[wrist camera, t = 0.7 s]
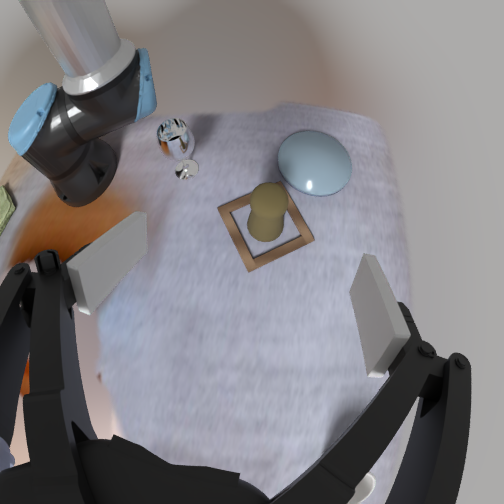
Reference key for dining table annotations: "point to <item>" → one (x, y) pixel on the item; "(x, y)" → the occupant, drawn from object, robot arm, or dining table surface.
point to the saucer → (314, 163)
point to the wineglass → (178, 146)
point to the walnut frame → (274, 254)
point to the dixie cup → (363, 489)
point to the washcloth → (5, 208)
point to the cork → (267, 211)
